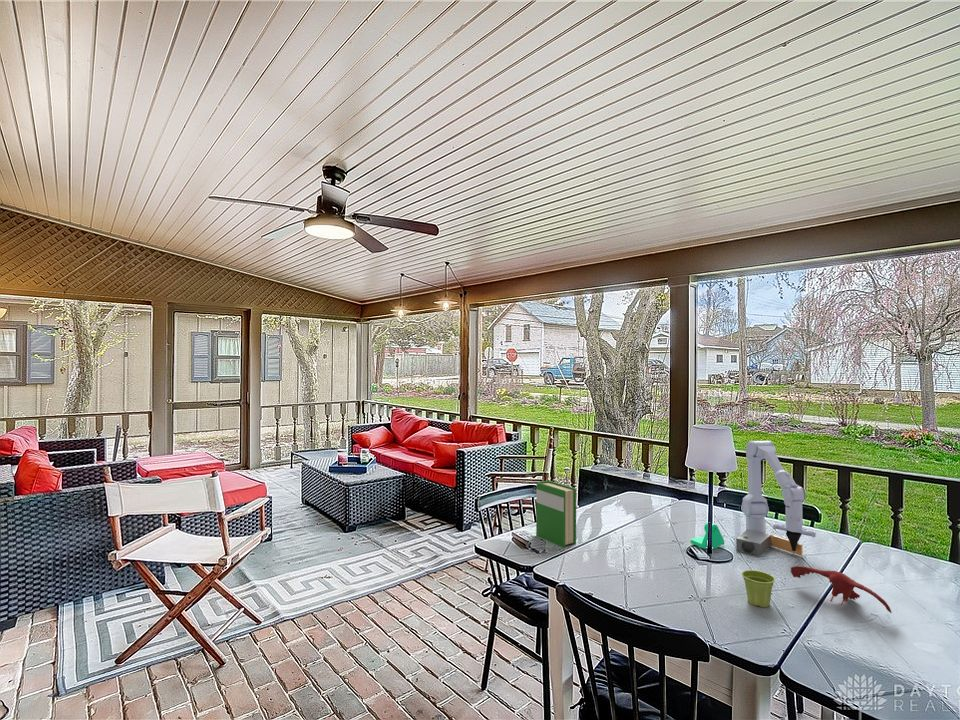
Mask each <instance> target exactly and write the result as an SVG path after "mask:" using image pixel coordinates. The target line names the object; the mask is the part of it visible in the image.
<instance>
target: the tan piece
mask: <svg viewBox="0 0 960 720" xmlns="http://www.w3.org/2000/svg"><path fill="white" fill-rule="evenodd" d="M771 547H773V548H777V549H779V550H782V551H784V552H785V551H786V552H789V553H792V554H795V555H798V556H800V557H802V556H803V553H804V552H803V544H802V543H799V542H798V543H797V546H796V551H792V547H791V544H790V541H789V539H788V538H787V539H786V538H783V537H780V536H777V535H775V534H771Z"/></svg>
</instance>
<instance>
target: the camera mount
mask: <svg viewBox="0 0 960 720" xmlns="http://www.w3.org/2000/svg"><path fill="white" fill-rule="evenodd" d="M704 532H705V534H704V536H699V537H694V538H690V544H691V545H694V546H697V547H699V548H700V549H701V548H702V549H704V550H706V549H707V548H706V547H707V540H708V522H706V523H705V524H704ZM724 545H725V539H724V537H723V535H722V533H721V530H720V529H719V527H718V525H717V524H714V523H712V547H713V548H716V549H718V548H717V547H719V546H724Z"/></svg>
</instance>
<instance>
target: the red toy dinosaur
mask: <svg viewBox="0 0 960 720" xmlns="http://www.w3.org/2000/svg"><path fill="white" fill-rule="evenodd" d="M810 573H811V574H818V575H820V576H823V577H825V578H827V579H828V580H829V583H830V584H831V583H832V590H831V595H832V596H831V598H830V599H829V601H830V602H831V603H832V602H833V600H834V598H836V597H838V595H840V594H842V601H841V602H840V603H839V605H840V606H844V603H845V601H848V600H849V599H850V600H853V601H857V599H859V598H861V595H860V594H858V593H857V592H856V591H855V590H854V588H857V589H859V590H862V591H863V592H866V593H867V594H870V595H871V596H873V598H875V599H876V600H877V601H878V602H880V603H881V604H882V605H883V606H884V607H885V608H886V610H887V611H888V613H890V614H893V613H892V609H891V608H890V606H889V604H888V603H887V601H885V600H884V599H883V598H882V596H880V595H879V594H878V593H876V592H875V591H873V590H872V589H870V588H869V587H866V586H864V585H863V584H860V583H859V582H858V581H857V582H856V581H855V580H854V579H852V578H851V577H850V576H848V575H846V574H845V573H843V572H840V571H836V570H822V569H818V568H813V567H808V566H804V565H803V566H802V565H797V566H792V567H790V574H791V575H792V577H793V578H798V579H801V576H802V577H804V576H805V575H810Z"/></svg>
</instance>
